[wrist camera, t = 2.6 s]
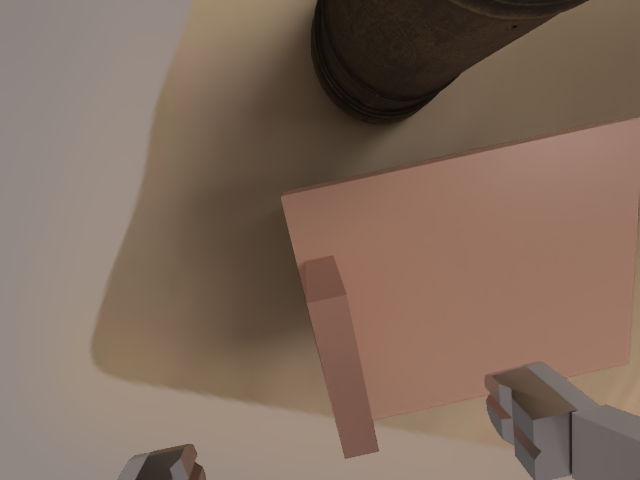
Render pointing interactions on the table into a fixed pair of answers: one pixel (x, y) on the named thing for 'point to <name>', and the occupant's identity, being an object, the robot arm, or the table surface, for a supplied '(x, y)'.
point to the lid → (469, 270)
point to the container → (411, 47)
